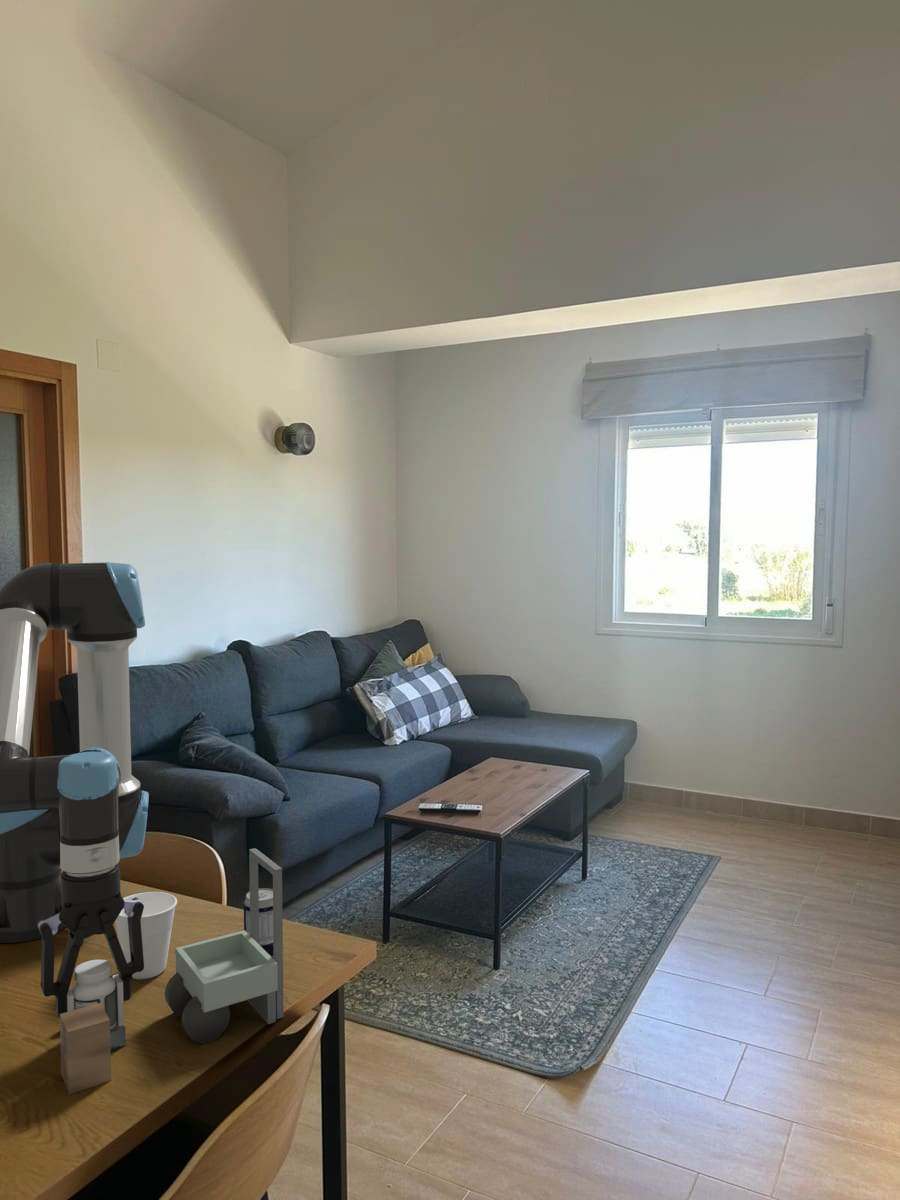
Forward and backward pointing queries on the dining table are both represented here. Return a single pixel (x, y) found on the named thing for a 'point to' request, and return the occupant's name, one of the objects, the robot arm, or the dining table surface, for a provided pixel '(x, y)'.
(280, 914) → the trolley
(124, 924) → the cup
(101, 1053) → the brown rectangular block
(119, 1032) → the grey blocks
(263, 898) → the cylindrical canister
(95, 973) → the pill bottle
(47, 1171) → the dining table surface
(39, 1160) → the dining table surface
